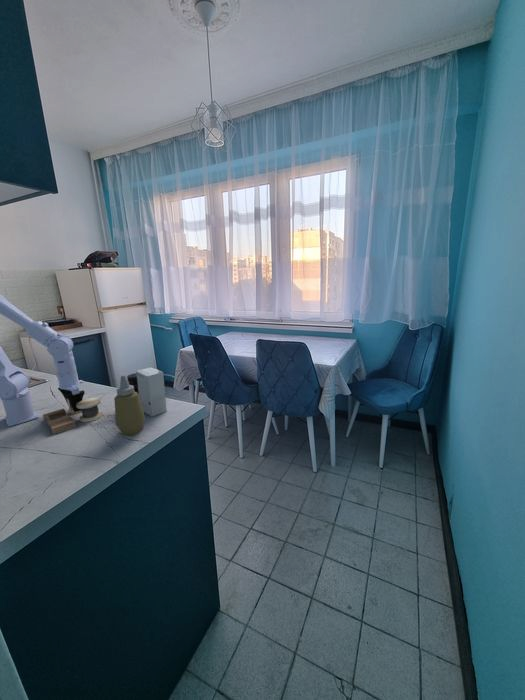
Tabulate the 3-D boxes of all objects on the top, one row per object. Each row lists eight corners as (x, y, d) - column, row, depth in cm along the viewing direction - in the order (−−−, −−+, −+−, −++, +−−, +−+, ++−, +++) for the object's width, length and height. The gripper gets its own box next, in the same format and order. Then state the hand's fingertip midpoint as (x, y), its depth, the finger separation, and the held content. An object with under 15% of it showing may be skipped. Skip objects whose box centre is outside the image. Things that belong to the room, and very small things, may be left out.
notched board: (44, 419, 98) (42, 414, 97) (64, 413, 102) (63, 408, 101) (53, 434, 88) (52, 428, 88) (76, 426, 92) (74, 421, 92)
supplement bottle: (141, 411, 102) (136, 379, 98) (124, 409, 103) (119, 378, 100) (152, 402, 108) (148, 372, 105) (136, 401, 109) (131, 371, 106)
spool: (76, 417, 99) (73, 402, 97) (99, 410, 103) (96, 396, 102) (83, 424, 94) (79, 408, 92) (106, 416, 99) (103, 401, 97)
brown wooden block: (69, 412, 103) (66, 397, 102) (79, 409, 105) (76, 395, 104) (72, 414, 101) (68, 400, 99) (81, 411, 103) (78, 397, 102)
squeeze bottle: (113, 432, 88) (103, 377, 84) (139, 422, 94) (131, 369, 89) (124, 441, 83) (114, 383, 78) (151, 430, 89) (142, 375, 84)
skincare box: (140, 410, 102) (134, 370, 98) (156, 404, 106) (150, 366, 103) (152, 417, 97) (146, 375, 93) (168, 410, 101) (163, 370, 97)
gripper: (86, 372, 97) (93, 409, 100) (74, 364, 107) (81, 398, 110) (61, 378, 92) (70, 417, 96) (51, 369, 102) (59, 404, 105)
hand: (74, 407), depth 103 cm, fingers open, 7 cm apart
